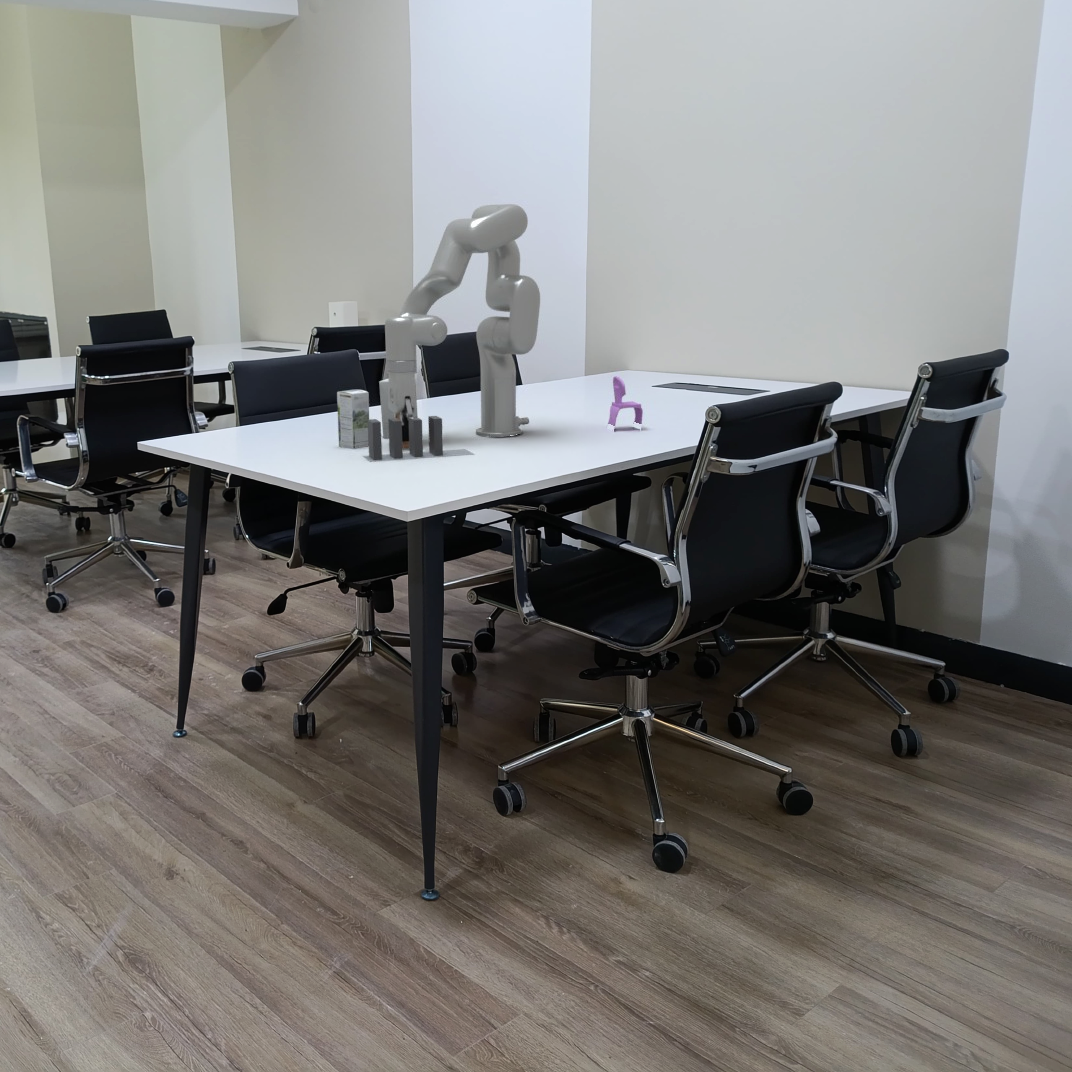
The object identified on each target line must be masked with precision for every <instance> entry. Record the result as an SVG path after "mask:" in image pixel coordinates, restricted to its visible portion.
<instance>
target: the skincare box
mask: <svg viewBox="0 0 1072 1072" xmlns="http://www.w3.org/2000/svg"><path fill="white" fill-rule="evenodd" d="M388 380H389V377H388V378H386V379H383V380H380V381H378V383H379V396H380V398H379V399H380V414H381V430H382V438H383V439H389V424H388V418H394V412H392V411H390V410H389V408H388ZM416 383H417V382H416V378H414V386H415V412H414V413H413V416H412V417H418V402H417V388H416V386H417V385H416ZM418 418H419V417H418Z"/></svg>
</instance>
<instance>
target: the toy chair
mask: <svg viewBox="0 0 1072 1072" xmlns="http://www.w3.org/2000/svg"><path fill="white" fill-rule="evenodd" d="M612 386H613V396H614V401H612V402H611V406H610V408H609V418H608V423H607V424H611V425H613V426H615V427H616V423H617V418H618V414H619V412H620V410H623V409H629V408H630V409H633V410H634V421H633V423H634V422H636V423H639V424H642V425H643V415H644V414H643V413H644V412H643V411H644V410H643V407H642V404H641V403H638V402H635V401H623V397H624V396H626V395H627V393H626V385H625V382H624V380H622V378H620V376H613V379H612Z"/></svg>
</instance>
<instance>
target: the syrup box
mask: <svg viewBox="0 0 1072 1072" xmlns="http://www.w3.org/2000/svg"><path fill="white" fill-rule="evenodd" d="M369 393H370V392H368V391H367V390H363V389H349V390H348V389H347V390H342V391H341V390H340V391H339V390H338V391H337V392H336V402H337V429H338V430H337V431H338V447H340V448H347V449H351V450H356V449H361V448H365V447H369V441H368V420H369V419H370V403H369V402H370V398H369V396H370V395H369Z"/></svg>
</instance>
